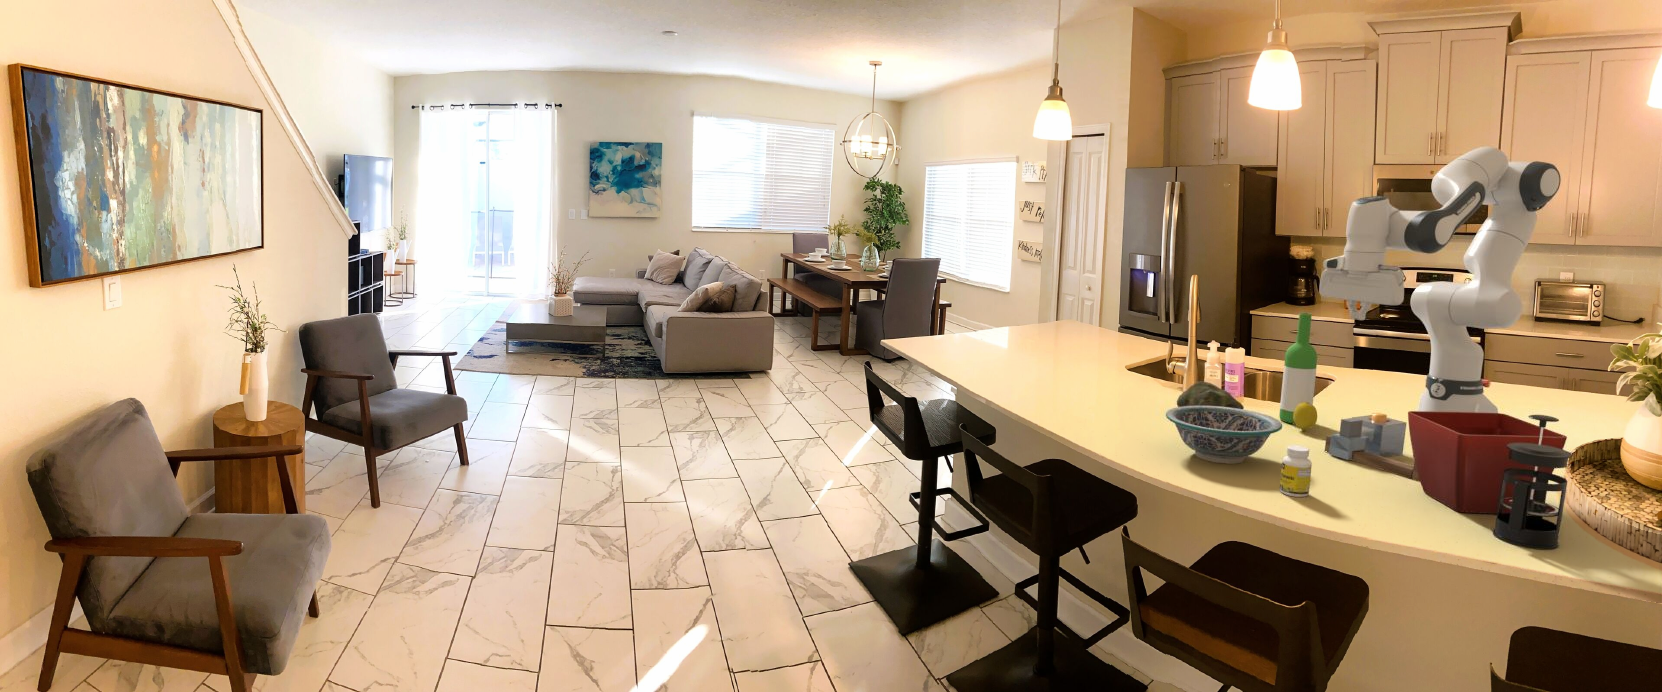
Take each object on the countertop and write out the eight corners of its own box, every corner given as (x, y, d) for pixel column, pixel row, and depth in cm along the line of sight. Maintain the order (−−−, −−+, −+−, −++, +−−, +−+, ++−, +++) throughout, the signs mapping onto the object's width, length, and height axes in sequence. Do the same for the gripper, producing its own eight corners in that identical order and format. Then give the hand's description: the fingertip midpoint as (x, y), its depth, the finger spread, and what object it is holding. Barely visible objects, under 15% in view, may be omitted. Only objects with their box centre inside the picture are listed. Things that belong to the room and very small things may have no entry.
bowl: (1269, 448, 211) (1273, 410, 209) (1286, 479, 188) (1291, 436, 186) (1161, 438, 219) (1164, 401, 217) (1164, 466, 196) (1167, 426, 194)
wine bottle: (1293, 426, 231) (1304, 316, 226) (1272, 418, 239) (1282, 312, 233) (1317, 424, 233) (1329, 315, 228) (1295, 417, 240) (1306, 311, 235)
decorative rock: (1216, 408, 250) (1219, 375, 248) (1249, 422, 235) (1252, 387, 233) (1168, 410, 248) (1171, 376, 246) (1198, 424, 233) (1201, 388, 231)
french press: (1505, 525, 162) (1523, 406, 158) (1568, 541, 154) (1588, 417, 150) (1480, 538, 155) (1497, 415, 151) (1544, 556, 148) (1564, 427, 144)
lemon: (1318, 434, 223) (1321, 404, 222) (1295, 433, 224) (1298, 403, 223) (1311, 428, 228) (1314, 399, 227) (1289, 427, 230) (1292, 398, 228)
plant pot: (1396, 485, 184) (1405, 409, 181) (1491, 489, 182) (1502, 412, 179) (1450, 518, 165) (1461, 434, 162) (1557, 523, 163) (1570, 437, 160)
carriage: (1347, 451, 207) (1351, 416, 206) (1367, 457, 203) (1371, 421, 201) (1328, 454, 205) (1332, 418, 203) (1347, 459, 200) (1351, 423, 199)
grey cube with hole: (1371, 445, 213) (1375, 414, 212) (1402, 454, 206) (1406, 422, 204) (1347, 449, 210) (1351, 417, 209) (1378, 458, 203) (1382, 425, 201)
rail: (1333, 450, 209) (1335, 434, 208) (1426, 478, 188) (1429, 461, 187) (1324, 451, 208) (1326, 435, 207) (1417, 480, 187) (1419, 462, 186)
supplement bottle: (1273, 489, 181) (1278, 444, 179) (1298, 488, 181) (1302, 444, 180) (1289, 498, 176) (1294, 452, 174) (1314, 497, 176) (1319, 451, 174)
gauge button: (1375, 432, 209) (1378, 412, 208) (1387, 435, 206) (1389, 415, 206) (1367, 433, 208) (1369, 413, 207) (1378, 436, 205) (1381, 416, 204)
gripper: (1413, 266, 202) (1406, 324, 204) (1335, 260, 220) (1330, 313, 223) (1395, 267, 199) (1388, 325, 202) (1317, 260, 218) (1312, 314, 221)
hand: (1357, 319), depth 212 cm, fingers closed
